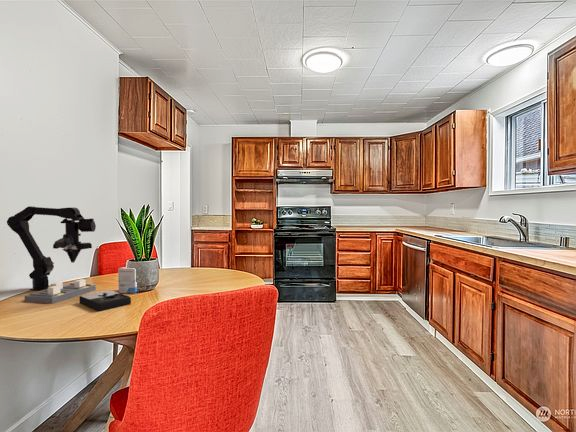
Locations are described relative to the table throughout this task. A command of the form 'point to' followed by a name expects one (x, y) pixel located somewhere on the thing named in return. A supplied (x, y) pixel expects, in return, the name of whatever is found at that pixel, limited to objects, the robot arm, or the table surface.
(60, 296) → the switch bank
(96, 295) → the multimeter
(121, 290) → the ink box
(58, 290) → the tab
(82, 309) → the table surface
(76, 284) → the tab
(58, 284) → the tab
